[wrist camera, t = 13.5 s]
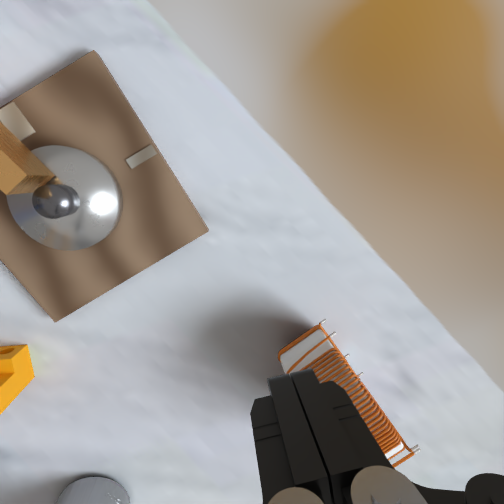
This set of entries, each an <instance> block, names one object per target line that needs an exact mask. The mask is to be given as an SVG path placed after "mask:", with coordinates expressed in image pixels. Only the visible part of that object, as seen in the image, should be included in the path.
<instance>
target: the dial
mask: <svg viewBox="0 0 504 504" xmlns="http://www.w3.org/2000/svg"><path fill="white" fill-rule="evenodd" d="M0 190H1V191H2V192H4V193H5V194H6V196H7V202H8V206H9V209H10V211H11V214H12V216H13V218H14V219H15V221H16V223H17V224H18V225H19V226H20V228H21V229H22V230H23V231H24V232H25V233H26V234H27V235H29V236H30V237H31V238H32V239H34V240H35V241H37V242H39V243H41V244H43V245H45V246H47V247H50V248H54V249H58V250H66V251H73V250H80V249H84V248H88V247H90V246H92V245H94V244H96V243H98V242H100V241H101V240H103V239H105V238H106V237H107V236H109V235H110V234H111V233H112V232H113V230H114V229H115V228H116V226H117V225H118V223H119V221H120V218H121V215H122V210H123V195H122V191H121V188H120V185H119V182H118V180H117V178H116V177H115V175H114V174H113V172H112V171H111V170H110V168H109V167H108V166H107V165H106V164H105V163H104V162H103V161H101V160H100V159H99V158H97V157H96V156H94V155H92V154H90V153H88V152H86V151H83V150H80V149H77V148H72V147H66V146H58V145H51V146H44V147H39V148H37V149H34V150H32V151H30V150H29V149H28V148H27V147H26V146H25V145H24V144H23V143H22V142H21V141H20V140H19V139H18V138H17V137H16V136H15V135H14V134H13V133H12V132H11V131H10V130H8V129H7V128H6V127H5V126H4V125H3V124H2V123H1V122H0Z"/></svg>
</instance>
